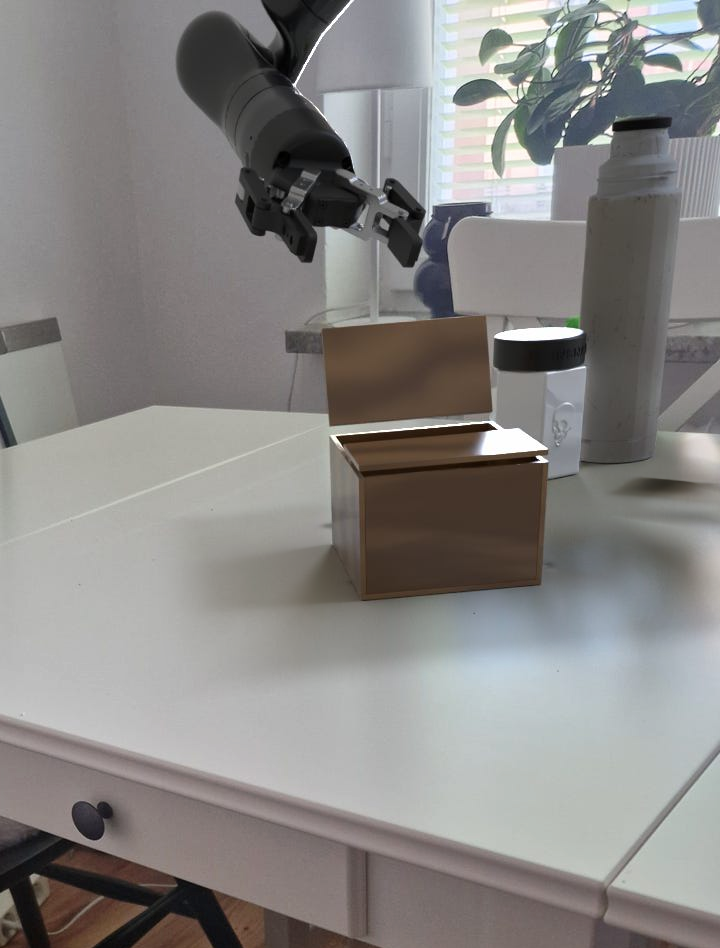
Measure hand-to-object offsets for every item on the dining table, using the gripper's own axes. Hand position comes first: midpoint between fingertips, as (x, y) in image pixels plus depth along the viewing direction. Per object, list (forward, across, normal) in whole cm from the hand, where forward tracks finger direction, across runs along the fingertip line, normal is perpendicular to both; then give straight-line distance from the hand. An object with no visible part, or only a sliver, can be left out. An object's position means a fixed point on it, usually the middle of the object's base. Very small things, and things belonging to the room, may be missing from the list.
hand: (363, 253), depth 87 cm
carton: (+19, +2, +14) cm, 23 cm away
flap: (+6, +3, +6) cm, 9 cm away
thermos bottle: (-2, +34, +19) cm, 39 cm away
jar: (0, +24, +20) cm, 31 cm away
